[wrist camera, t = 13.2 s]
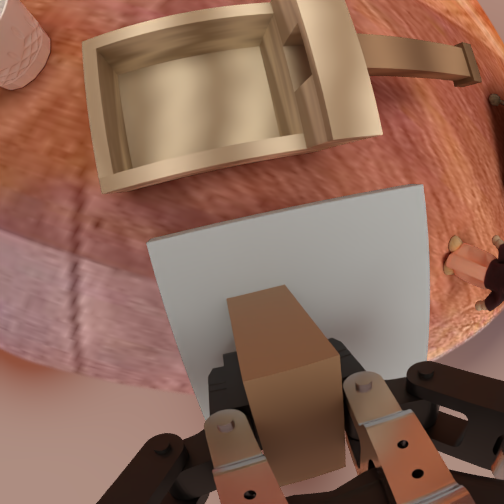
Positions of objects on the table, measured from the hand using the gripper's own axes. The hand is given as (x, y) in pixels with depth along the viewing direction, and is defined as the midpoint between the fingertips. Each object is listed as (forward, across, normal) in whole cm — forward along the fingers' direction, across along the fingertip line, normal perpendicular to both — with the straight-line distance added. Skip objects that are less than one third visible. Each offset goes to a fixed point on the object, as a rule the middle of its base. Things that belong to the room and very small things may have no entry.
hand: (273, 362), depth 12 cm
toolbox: (+15, -1, -14) cm, 21 cm away
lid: (+2, -2, 0) cm, 4 cm away
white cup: (+16, +16, -25) cm, 34 cm away
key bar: (+7, -14, -14) cm, 21 cm away
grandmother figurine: (+16, -24, +5) cm, 29 cm away
